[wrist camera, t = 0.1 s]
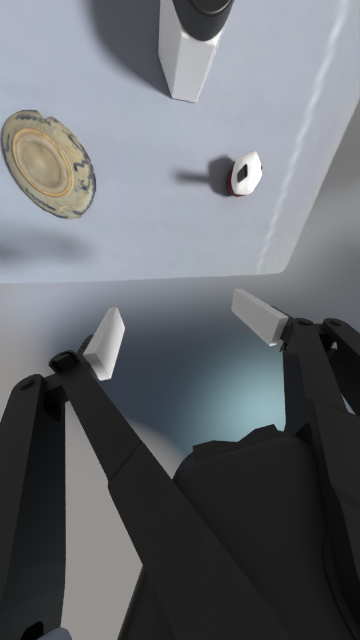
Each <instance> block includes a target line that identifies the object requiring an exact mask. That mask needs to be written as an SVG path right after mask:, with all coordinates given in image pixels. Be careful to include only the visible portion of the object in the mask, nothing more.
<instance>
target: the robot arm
mask: <svg viewBox="0 0 360 640" xmlns="http://www.w3.org/2000/svg"><path fill="white" fill-rule="evenodd" d="M232 311H233V312H234V313H235V314H236V315H237V316H238V317H239V318H240V319H241V320H242V321H243V322H245V323H246V324H247V325H248V326H249V327H250V328H251V329H252V330H253V331H254V332H255V333H256V334H257V335H259V336H260V337H261V338H262V339H263V340H264V341H265V342H266V343H267V344H268V345H269V346H272V345H277V344H278V343H279V340H280V339H281V340H283V341H284V342H283V344H282V347H281V349H280V352H281V351H283V372H284V392H285V413H286V425H285V429H284V431H279V430H277V428H276V427H275V425H274V424H272V425H269V426H265V427H261V428H258V429H255V430H253V431H252V432H251V433H249V434H248V435H247V436H245V437H244V438H243V439H241V440H240V441H238V442H228V441H215V440H213V441H209V442H206V443H202V444H199V445H195V446H193V452H192V453H191V454H189V455H188V456H187V457H186V458H185V459H184V460H183V461H182V463H181V464H180V466H179V467H178V469H177V470H176V473H175V475H174V477H173V479H171V478H170V477H169V475H168V474H167V473H166V471H165V470H164V469H163V467H162V466H161V465H160V464H159V462H158V461H157V460H156V458H155V457H154V456H153V454H152V453H151V452H150V451H149V449H148V448H147V447H146V445H145V444H144V443H143V442H142V441H141V440H140V438H139V437H138V436H137V434H136V433H135V432H134V430H133V429H132V428H131V426H130V425H129V424H128V422H127V421H126V420H125V418H124V417H123V416H122V414H121V413H120V412H119V410H118V409H117V408H116V407H115V405H114V404H113V403H112V401H111V400H110V399H109V398H108V396H107V395H106V393H105V392H104V391H103V389H102V388H101V387H100V386H99V384H98V383H97V382H96V377H98V378H99V380H105V379H110V378H111V376H112V372H113V369H114V365H115V361H116V358H117V355H118V351H119V347H120V344H121V340H122V337H123V333H124V330H125V327H124V324H123V322H122V319H121V317H120V314H119V311H118V308H117V307H114V308H109V310H108V312H107V313H106V315H105V317H104V319H103V321H102V322H101V324H100V326H99V327H98V329H97V331H96V333H95V334H94V335H90V336H89V337H87V338H86V339H85V341H84V342H83V345H81V347H80V349H79V350H78V352H77V354H75V352H74V351H71V350H69V351H64V352H62V353H59V354H58V355H56V356H54V357H53V358H52V359H51V360H50V362H49V366H50V367H51V368H52V370H54V372H55V374H53V375H50V376H47V377H45V378H44V377H43V376H42V375H40V374H34V375H31V376H29V377H27V378H25V379H23V380H22V381H20V382H19V383H18V384H17V385H16V386H15V387H14V388H13V390H12V392H11V395H10V397H9V400H8V403H7V406H6V408H5V411H4V414H3V416H2V419H1V422H0V640H72V637H71V636H70V634H69V632H68V630H67V629H64V628H62V627H60V624H61V616H62V606H63V598H64V588H65V566H66V564H65V563H66V519H65V518H66V509H65V507H66V502H65V402H67V401H69V400H70V402H71V404H72V406H73V408H74V411H75V412H76V415H77V416H78V419H79V421H80V423H81V425H82V427H83V429H84V431H85V433H86V435H87V437H88V439H89V441H90V443H91V445H92V448H93V450H94V452H95V453H96V456H97V458H98V460H99V462H100V464H101V466H102V468H103V470H104V472H105V474H106V476H107V479H108V489H109V492H110V495H111V497H112V500H113V502H114V504H115V506H116V508H117V510H118V513H119V515H120V517H121V519H122V521H123V523H124V525H125V528H126V530H127V532H128V534H129V536H130V538H131V540H132V543H133V545H134V547H135V549H136V551H137V553H138V556H139V558H140V560H141V562H142V564H143V566H142V569H141V572H140V575H139V578H138V581H137V584H136V586H135V590H134V592H133V595H132V598H131V601H130V604H129V607H128V610H127V613H126V616H125V618H124V622H123V624H122V628H121V630H120V633H119V636H118V639H117V640H360V333H359V332H357V331H356V330H355V329H354V328H352V327H351V326H350V325H349V324H347V323H345V322H344V321H341V320H339V319H332V318H327V319H324V321H323V323H322V324H314V323H313V322H311V321H310V320H307V319H303V318H295V319H294V318H292V317H291V316H289V315H287V314H286V313H284V312H282V311H280V310H278V309H277V308H275V307H274V306H271V305H268V304H266V303H264V302H263V301H261V300H259V299H258V298H256V297H254V296H253V295H251V294H249V293H248V292H246V291H244V290H242V289H241V288H239V289H234V295H233V302H232ZM336 344H337V350H336V349H335V348H334V347H335V345H336ZM341 394H342V395H343V397H344V398H345V400H346V401H347V402H348V404H349V406H350V407H351V409H352V410H353V411H354V413H355V414H356V415H354V414H352V413H349V412H348V410H347V409H346V406H345V403H344V400H343V398H342V395H341Z"/></svg>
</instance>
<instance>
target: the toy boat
mask: <svg viewBox="0 0 360 640" xmlns="http://www.w3.org/2000/svg"><path fill="white" fill-rule="evenodd" d="M261 170H262V167H261V163H260V160H259V157H258V155H257V153H256V151H254V152H251V153H248V154H246V155H244V156H241V157H239V158H237V160H236V162H235V163H234V165H233V166H232V168H231V170H230V172H229V174H228V178H227V188H228V191H229V192H230V194H231V195H233V196H235V197H239V196H244V195H246V194H250V193H251V192H252V191H253V190H254V188H255V186H256V185H257V183H258V182H259V180H260V178H261V176H262V173H261Z"/></svg>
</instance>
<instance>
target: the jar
mask: <svg viewBox="0 0 360 640" xmlns="http://www.w3.org/2000/svg"><path fill="white" fill-rule="evenodd" d="M234 1H235V0H160V21H159V47H158V55H159V58H160V62H161V65H162V68H163V71H164V74H165V78H166V81H167V84H168V87H169V90H170V93H171V97H172V98H174V99H179V100H184V101H189V102H194V103H196V102H197V100H198V97H199V95H200V93H201V90H202V88H203V85H204V83H205V81H206V78H207V76H208V73H209V71H210V68H211V66H212V63H213V60H214V57H215V54H216V52H217V49H218V46H219V43H220V40H221V37H222V35H223V32H224V29H225V26H226V23H227V21H228V18H229V15H230V12H231V9H232V6H233V4H234Z"/></svg>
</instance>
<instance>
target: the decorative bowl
mask: <svg viewBox="0 0 360 640" xmlns="http://www.w3.org/2000/svg"><path fill="white" fill-rule="evenodd" d="M2 141H3V149H4V154H5V158H6V161H7V164H8V166H9V168H10V170H11V173H12V174H13V176H14V178H15V180H16V181H17V183H18V185H19V186H20V187H21V189H22V190H23V191H24V193H25V194H26V195H27V196H28V197H29V198H30V199H31V200H32V201H33V202H34V203H35V204H36V205H37V206H39V207H40V208H42V209H43V210H45V211H48V212H50V213H52V214H54V215H55V216H57V217H59V218H62V219H77V218H80V217H81V215H82V214H83V213H84V212H85V211H86V210H87V209H88V208H89V206H90V205H91V203H92V201H93V198H94V194H95V191H96V179H95V174H94V170H93V166H92V164H91V161H90V158H89V156H88V154H87V152H86V151H85V149H84V147H83V146H82V144H81V143H80V142H79V140H78V139H77V138H76V136H75V135H74V134H73V133H72V132H71V131H70V130H69V129H68V128H67V127H65V126H64V124H62V123H61V122H60V121H58V120H57V119H55V118H54V117H49V118H47V119H46V121H45V120H44V119H43V118H42V116H41V115H40V114H39V113H38V111H36V110H22V111H19V112H17V113H14V114H13V115H11V116H10V117H9V119H8V120H7V121H6V123H5V126H4V129H3V135H2Z"/></svg>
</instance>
